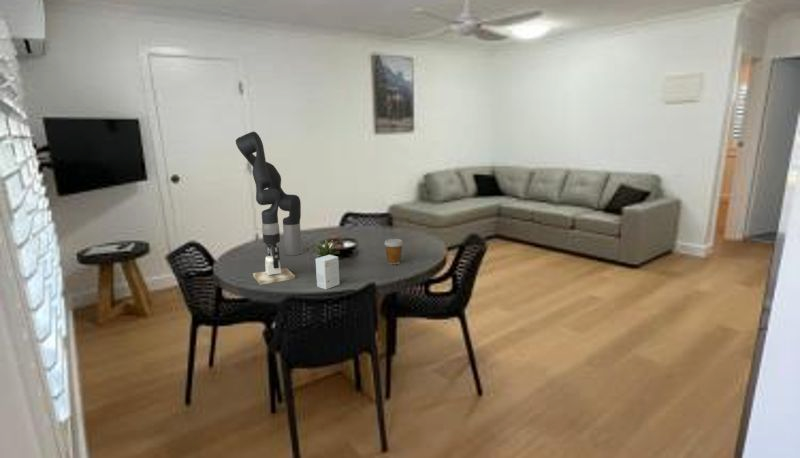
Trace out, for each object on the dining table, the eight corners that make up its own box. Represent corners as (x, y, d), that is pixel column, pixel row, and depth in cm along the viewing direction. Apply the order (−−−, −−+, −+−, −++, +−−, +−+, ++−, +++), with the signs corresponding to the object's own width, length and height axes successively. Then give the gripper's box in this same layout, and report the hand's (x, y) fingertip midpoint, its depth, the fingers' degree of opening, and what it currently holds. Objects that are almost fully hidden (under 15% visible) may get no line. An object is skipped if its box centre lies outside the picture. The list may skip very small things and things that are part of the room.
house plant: (327, 279, 207) (326, 245, 203) (305, 274, 214) (303, 241, 210) (347, 270, 218) (345, 238, 215) (325, 266, 226) (324, 235, 222)
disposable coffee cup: (406, 261, 232) (405, 239, 229) (398, 267, 223) (398, 243, 221) (389, 259, 236) (389, 237, 233) (381, 264, 227) (380, 242, 225)
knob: (265, 271, 210) (263, 255, 208) (277, 269, 213) (276, 253, 211) (268, 275, 205) (267, 259, 203) (281, 273, 208) (280, 257, 206)
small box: (330, 281, 203) (329, 254, 200) (340, 284, 199) (338, 256, 196) (316, 286, 197) (315, 258, 194) (326, 289, 193) (324, 261, 190)
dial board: (286, 270, 219) (285, 256, 218) (295, 278, 208) (294, 263, 206) (253, 276, 212) (252, 261, 210) (260, 284, 200) (258, 268, 198)
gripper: (259, 230, 209) (262, 263, 213) (266, 236, 197) (269, 271, 201) (275, 228, 213) (277, 260, 216) (283, 234, 201) (286, 268, 204)
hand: (273, 265), depth 208 cm, fingers open, 8 cm apart
